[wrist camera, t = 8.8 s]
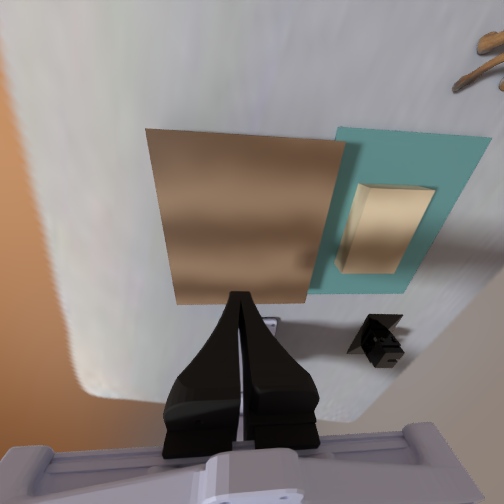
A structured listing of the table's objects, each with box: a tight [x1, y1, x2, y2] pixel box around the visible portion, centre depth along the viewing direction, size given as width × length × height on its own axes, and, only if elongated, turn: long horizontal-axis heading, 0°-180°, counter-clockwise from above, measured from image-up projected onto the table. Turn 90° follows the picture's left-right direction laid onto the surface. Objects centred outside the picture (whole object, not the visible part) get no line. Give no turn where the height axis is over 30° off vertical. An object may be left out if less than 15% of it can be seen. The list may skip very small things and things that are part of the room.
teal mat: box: [307, 127, 492, 294], centre depth 22 cm, size 18×14×1 cm
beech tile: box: [334, 183, 435, 274], centre depth 20 cm, size 9×6×2 cm, turn 177°
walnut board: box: [145, 128, 346, 305], centre depth 19 cm, size 16×14×3 cm
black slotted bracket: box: [347, 314, 405, 368], centre depth 30 cm, size 12×7×5 cm, turn 173°
